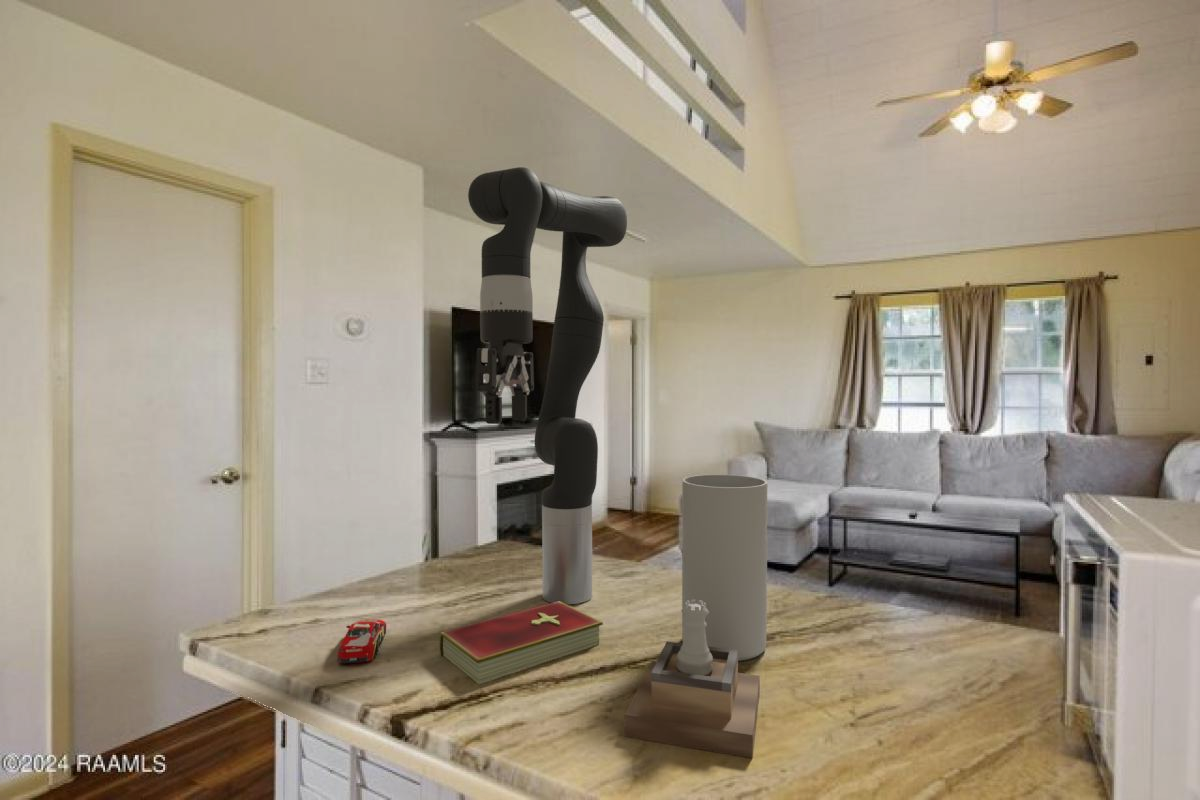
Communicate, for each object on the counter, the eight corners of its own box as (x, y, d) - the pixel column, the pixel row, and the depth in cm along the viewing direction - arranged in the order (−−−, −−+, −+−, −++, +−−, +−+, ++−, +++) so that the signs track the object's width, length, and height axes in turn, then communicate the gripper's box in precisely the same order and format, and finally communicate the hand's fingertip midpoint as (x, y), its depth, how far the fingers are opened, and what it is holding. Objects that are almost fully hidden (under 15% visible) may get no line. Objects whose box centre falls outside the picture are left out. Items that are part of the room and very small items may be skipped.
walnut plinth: (651, 679, 84) (651, 631, 84) (759, 694, 80) (759, 644, 79) (624, 736, 70) (624, 679, 70) (752, 758, 66) (752, 697, 66)
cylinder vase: (772, 636, 98) (773, 477, 97) (757, 670, 86) (758, 490, 86) (695, 623, 103) (695, 472, 102) (671, 653, 92) (671, 484, 91)
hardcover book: (439, 658, 92) (439, 629, 91) (558, 623, 105) (558, 598, 104) (477, 689, 82) (477, 658, 82) (602, 647, 95) (602, 620, 95)
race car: (354, 633, 100) (354, 608, 100) (389, 631, 101) (389, 606, 101) (331, 670, 87) (331, 641, 87) (372, 667, 88) (372, 639, 88)
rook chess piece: (714, 679, 72) (714, 611, 72) (675, 676, 73) (675, 609, 73) (713, 662, 77) (713, 598, 76) (676, 660, 77) (677, 595, 77)
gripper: (508, 303, 83) (509, 425, 83) (548, 314, 96) (549, 419, 97) (458, 305, 85) (459, 424, 85) (504, 315, 99) (505, 418, 99)
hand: (507, 421), depth 91 cm, fingers open, 8 cm apart
